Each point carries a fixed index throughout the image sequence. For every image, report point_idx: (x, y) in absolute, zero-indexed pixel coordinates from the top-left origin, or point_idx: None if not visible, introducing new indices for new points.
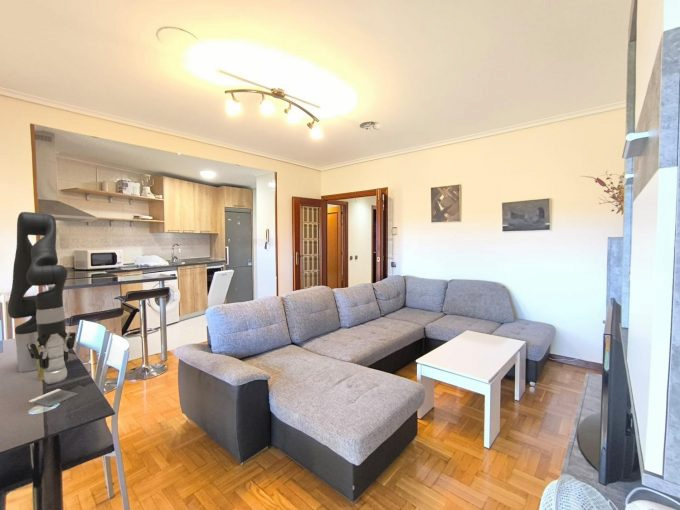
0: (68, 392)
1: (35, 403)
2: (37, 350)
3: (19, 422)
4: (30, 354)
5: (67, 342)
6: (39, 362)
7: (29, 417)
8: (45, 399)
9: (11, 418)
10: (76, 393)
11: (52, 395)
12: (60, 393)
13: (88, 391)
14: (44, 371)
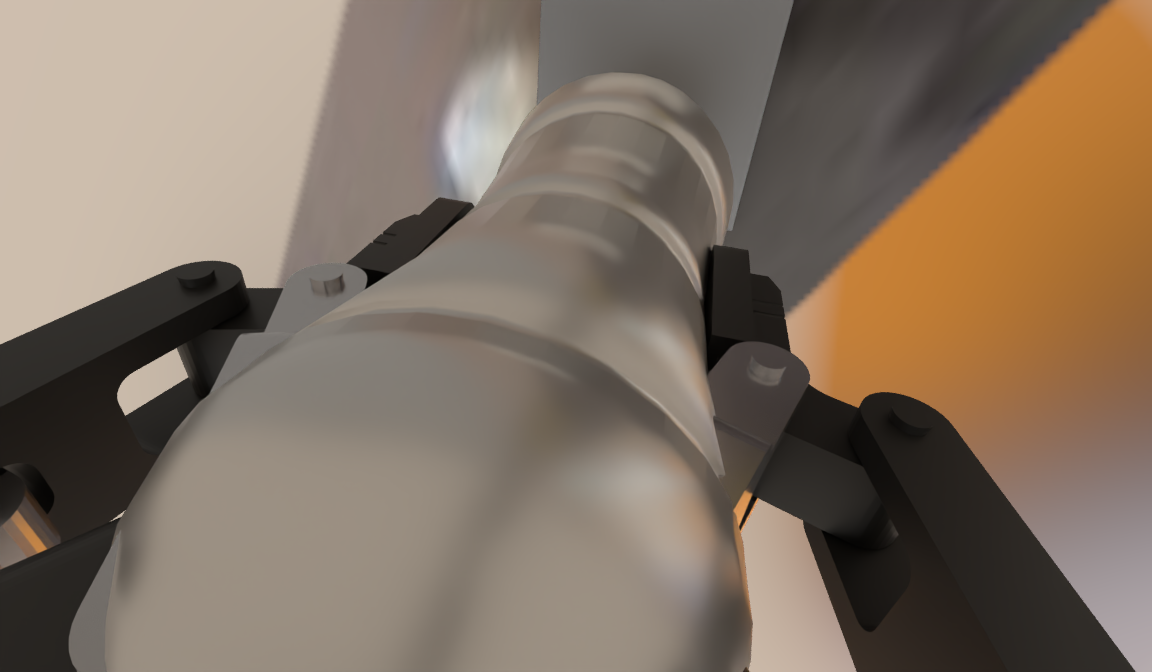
0: (745, 124)
1: (543, 4)
2: (118, 514)
3: (366, 187)
4: (83, 326)
5: (903, 543)
6: (362, 253)
7: (417, 189)
8: (606, 34)
9: (362, 68)
10: (732, 217)
11: (678, 18)
12: (722, 61)
13: (789, 262)
14: (516, 146)
